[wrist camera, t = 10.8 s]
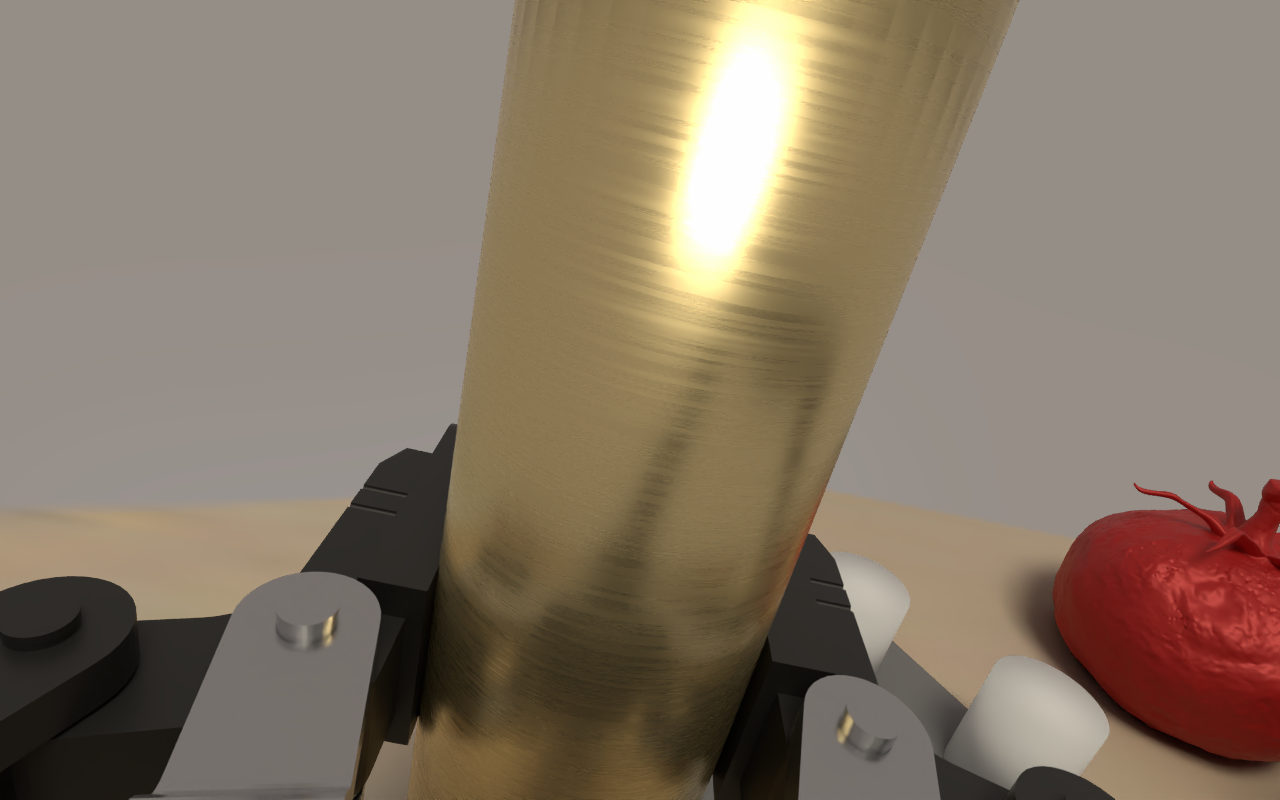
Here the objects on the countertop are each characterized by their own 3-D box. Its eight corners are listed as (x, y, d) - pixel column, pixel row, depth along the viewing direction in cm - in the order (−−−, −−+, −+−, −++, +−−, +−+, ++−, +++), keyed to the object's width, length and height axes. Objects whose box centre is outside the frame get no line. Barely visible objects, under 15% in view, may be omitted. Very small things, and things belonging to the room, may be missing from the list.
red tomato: (1075, 755, 24) (1226, 536, 20) (996, 573, 33) (1090, 396, 29) (1381, 844, 23) (1602, 634, 19) (1215, 633, 32) (1343, 459, 28)
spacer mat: (833, 609, 28) (873, 519, 26) (1151, 908, 19) (1243, 806, 18) (531, 715, 20) (557, 601, 19) (834, 1274, 12) (935, 1163, 10)
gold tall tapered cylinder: (552, 846, 15) (796, -41, 8) (693, 1133, 12) (1329, -19, 5) (286, 971, 12) (327, -238, 6) (364, 1409, 9) (781, -572, 2)
